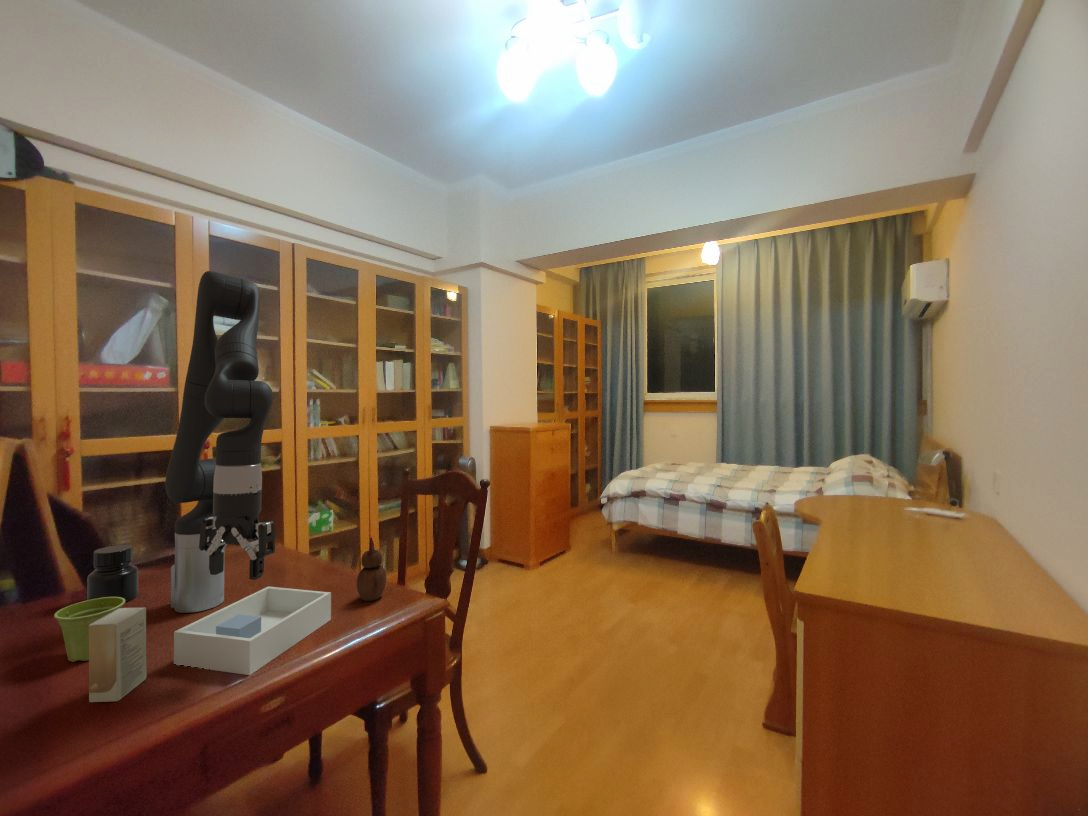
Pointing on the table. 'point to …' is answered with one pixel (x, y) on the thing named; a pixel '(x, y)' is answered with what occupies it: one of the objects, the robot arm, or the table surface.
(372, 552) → the wooden figurine
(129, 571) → the ink bottle
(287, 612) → the tote
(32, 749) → the table surface
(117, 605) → the plant pot
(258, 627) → the cube
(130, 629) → the skincare box
